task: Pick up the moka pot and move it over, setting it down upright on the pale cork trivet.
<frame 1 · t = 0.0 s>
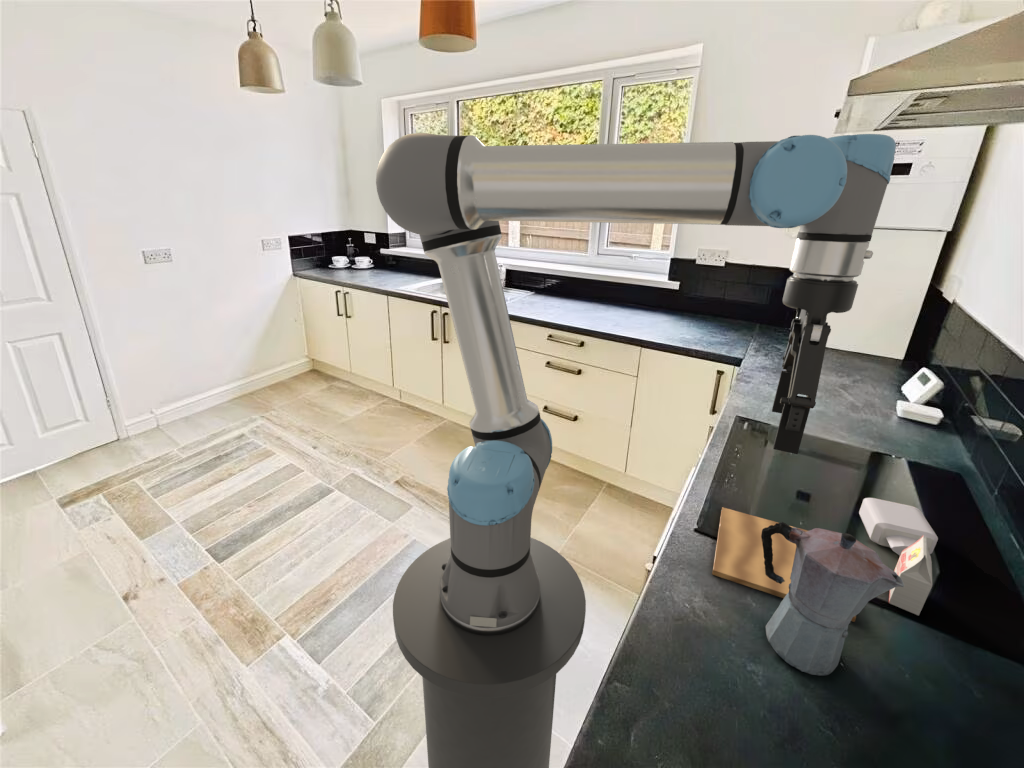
hand: (783, 430, 64), 29 cm above the worktop, tool pointing down, fingers open, 13 cm apart
charger: (896, 545, 85), on the worktop
white printed carton: (903, 597, 74), on the worktop
moka pot: (796, 647, 65), on the worktop
trivet: (777, 558, 81), on the worktop
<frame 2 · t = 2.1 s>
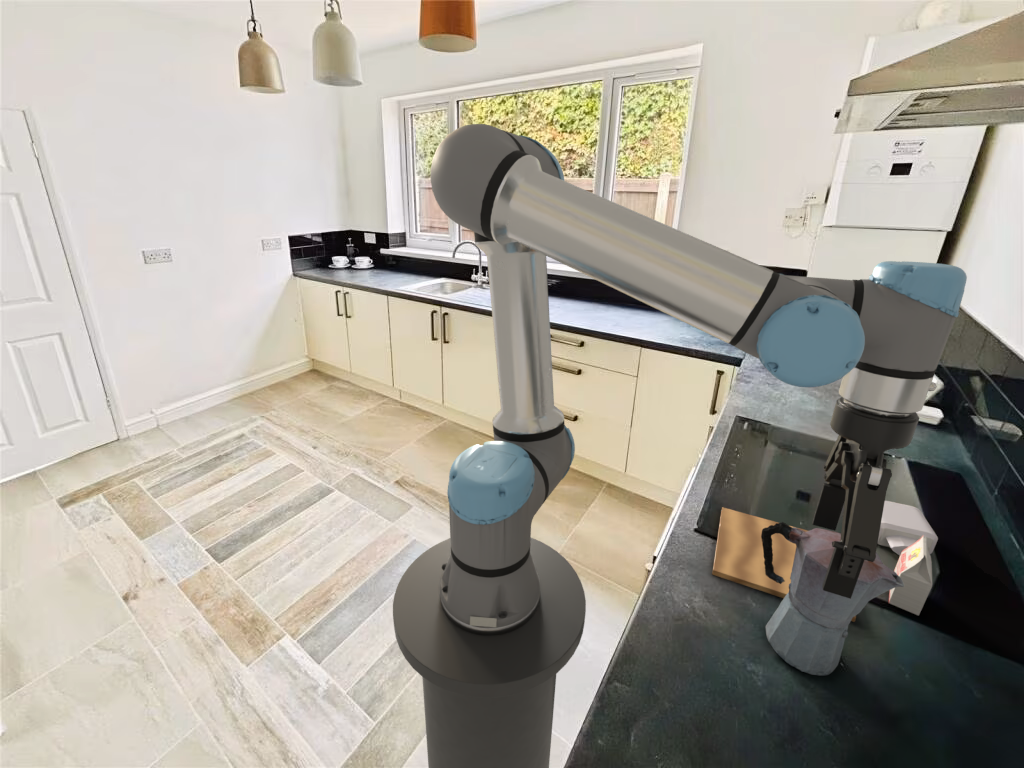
hand: (829, 556, 59), 16 cm above the worktop, tool pointing down, fingers open, 13 cm apart
nothing on the worktop moved.
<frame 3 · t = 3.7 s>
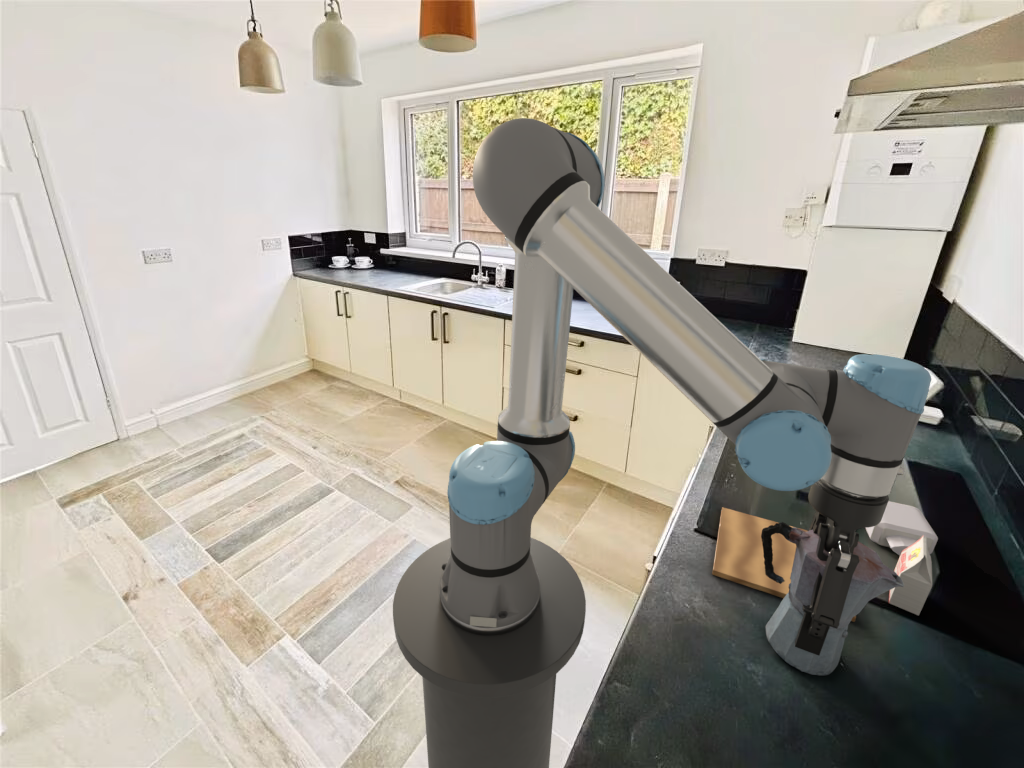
hand: (804, 623, 63), 4 cm above the worktop, tool pointing down, fingers closed on moka pot, 8 cm apart
moka pot: (796, 647, 65), on the worktop, touching gripper
everything else where it was.
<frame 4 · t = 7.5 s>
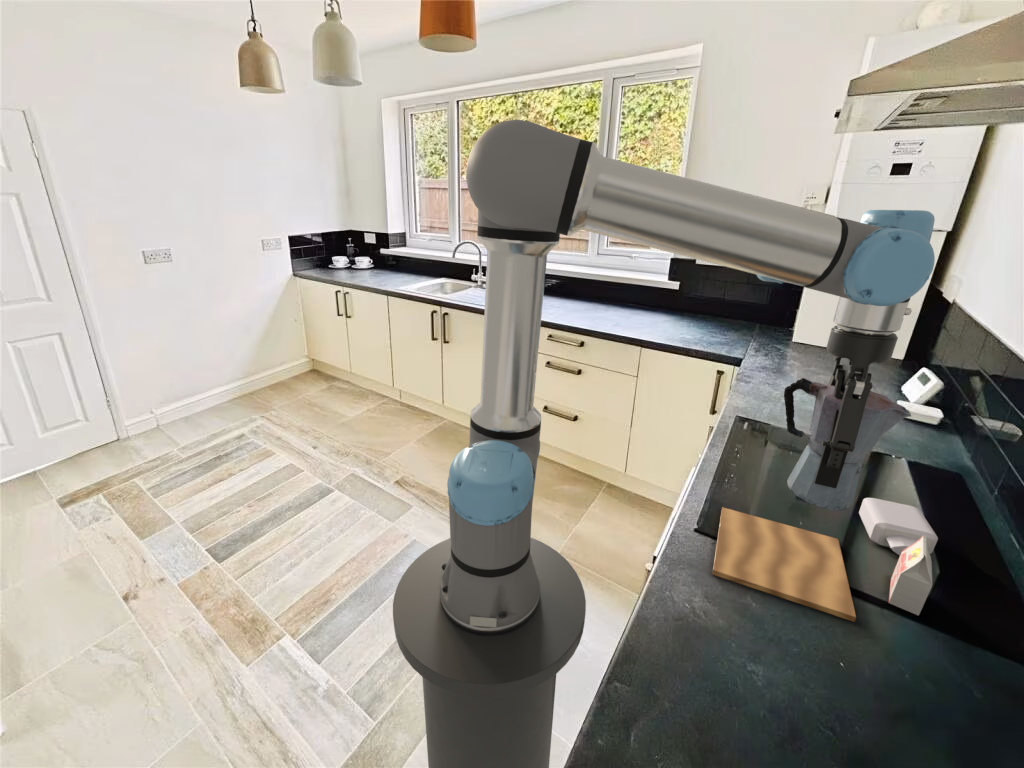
hand: (822, 471, 71), 20 cm above the worktop, tool pointing down, fingers closed on moka pot, 8 cm apart
moka pot: (815, 495, 73), point 15 cm above the worktop, touching gripper
everything else where it was.
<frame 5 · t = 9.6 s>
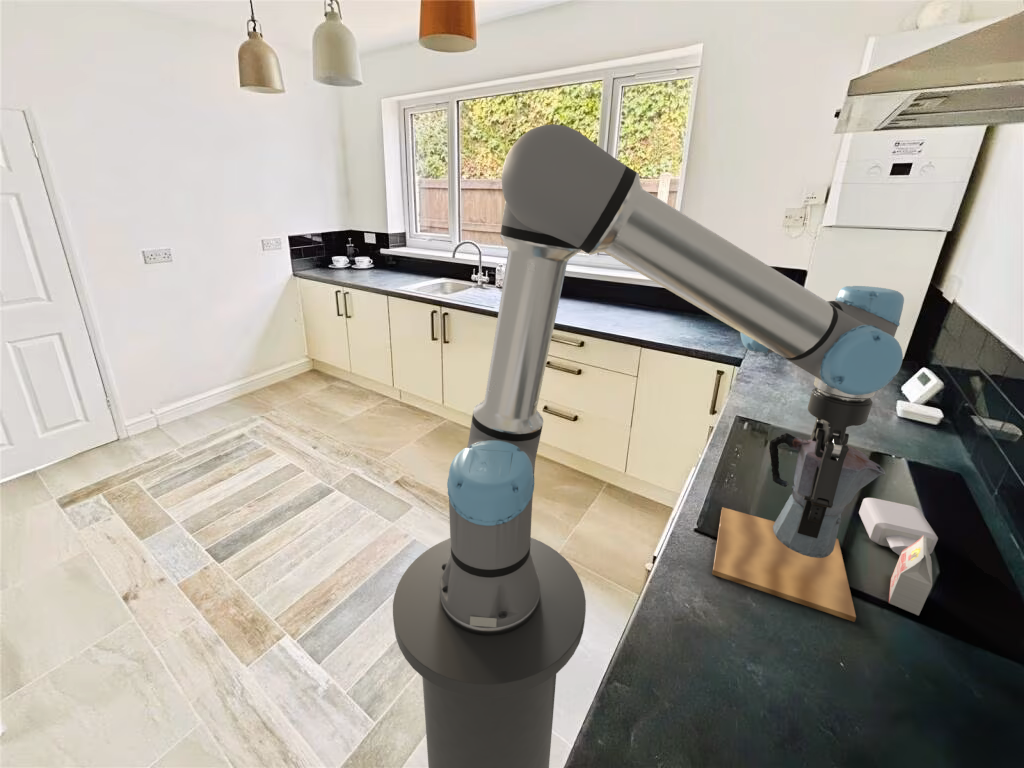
hand: (805, 519, 76), 10 cm above the worktop, tool pointing down, fingers closed on moka pot, 8 cm apart
moka pot: (798, 540, 78), point 5 cm above the worktop, touching gripper
everything else where it was.
when the fingers open (5 cm above the worktop, at t = 11.2 s): moka pot stays where it is, resting on trivet.
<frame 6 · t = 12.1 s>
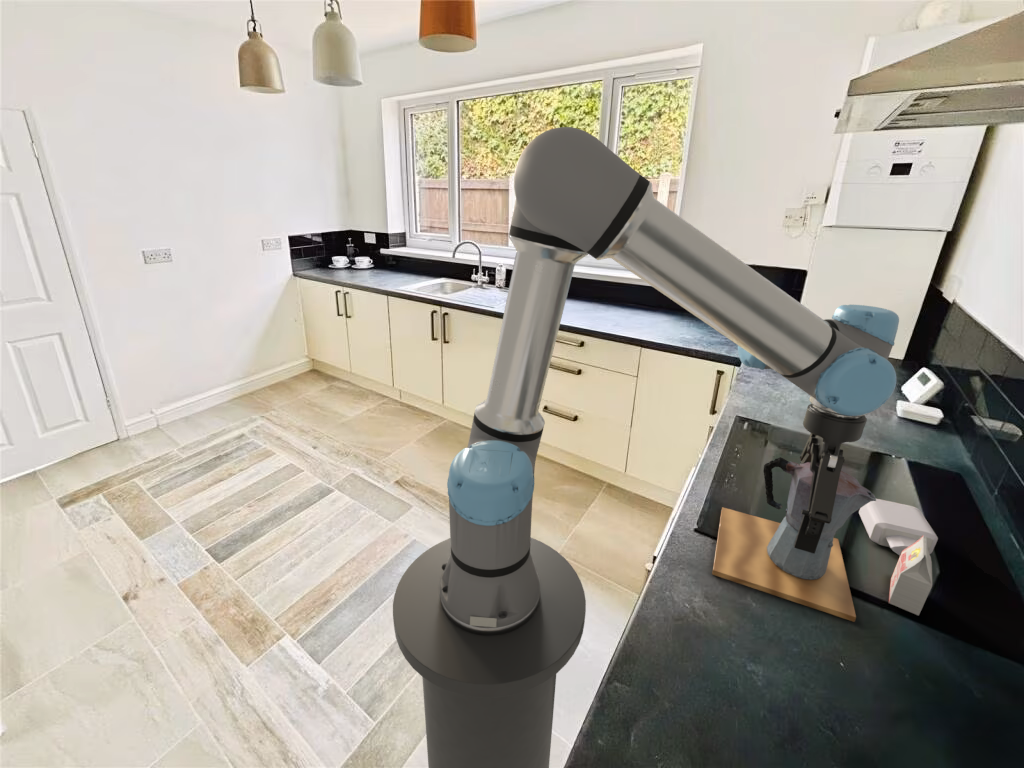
hand: (801, 525, 76), 9 cm above the worktop, tool pointing down, fingers open, 13 cm apart
moka pot: (792, 562, 79), point 1 cm above the worktop, touching trivet
everything else where it was.
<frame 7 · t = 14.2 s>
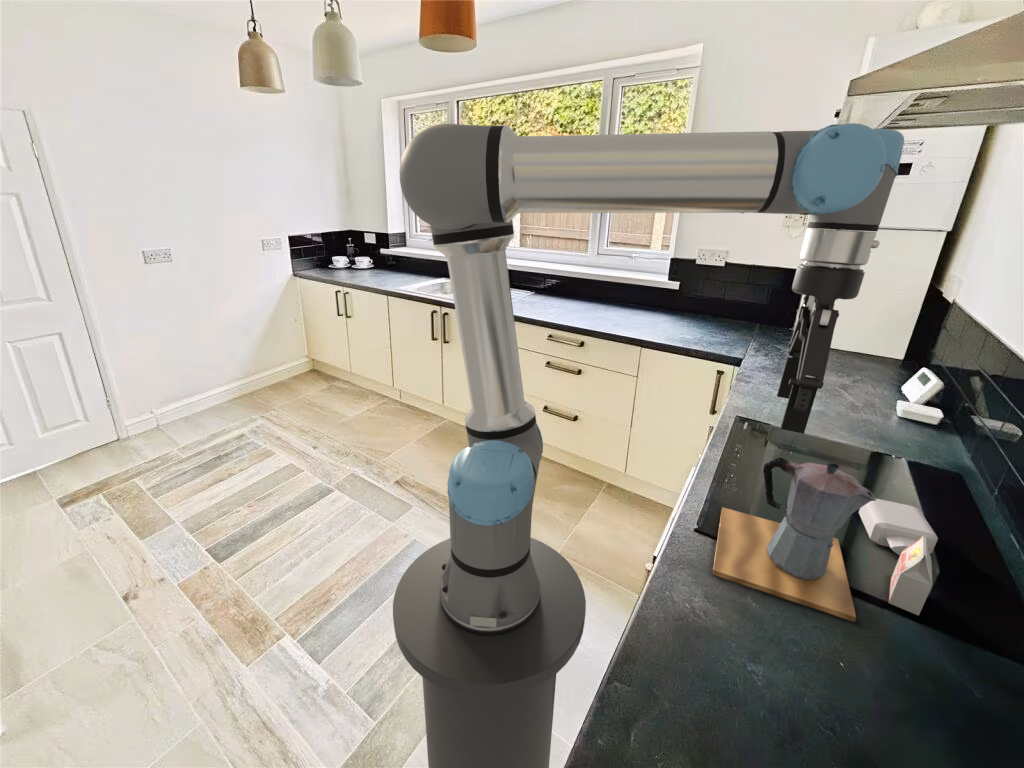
hand: (789, 412, 67), 30 cm above the worktop, tool pointing down, fingers open, 13 cm apart
nothing on the worktop moved.
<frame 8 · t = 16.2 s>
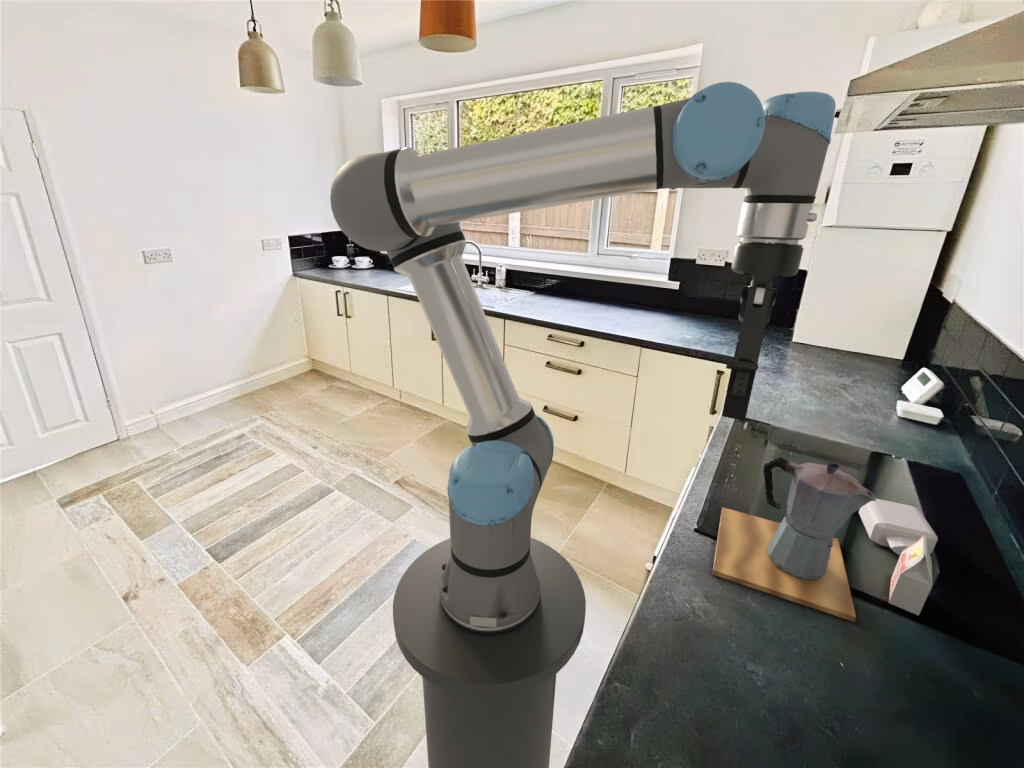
hand: (736, 400, 64), 33 cm above the worktop, tool pointing down, fingers open, 13 cm apart
nothing on the worktop moved.
at the end: moka pot inside the target area (0.5 cm from its centre), point 0.8 cm above the worktop; moka pot tilted 0°; the gripper is holding nothing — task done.
